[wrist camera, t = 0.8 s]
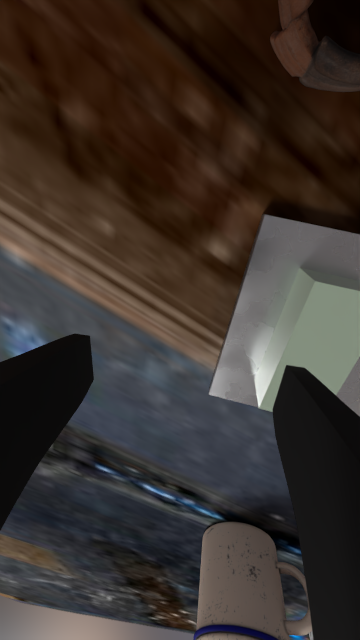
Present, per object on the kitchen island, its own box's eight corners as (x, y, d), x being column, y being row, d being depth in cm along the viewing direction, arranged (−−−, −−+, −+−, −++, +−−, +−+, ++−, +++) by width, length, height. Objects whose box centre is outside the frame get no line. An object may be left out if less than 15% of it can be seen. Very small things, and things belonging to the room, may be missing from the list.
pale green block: (365, 282, 15) (394, 299, 13) (305, 392, 19) (318, 423, 17) (299, 267, 16) (315, 281, 13) (254, 379, 20) (258, 408, 17)
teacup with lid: (218, 562, 34) (216, 723, 23) (188, 522, 31) (170, 685, 21) (312, 557, 30) (359, 747, 20) (288, 511, 27) (327, 704, 17)
